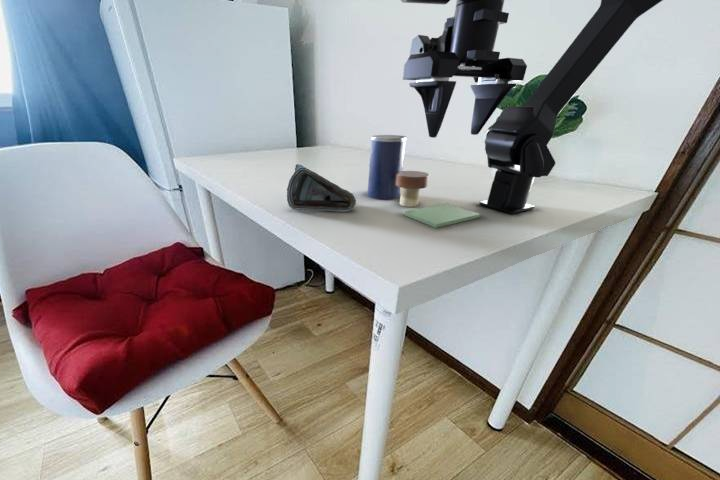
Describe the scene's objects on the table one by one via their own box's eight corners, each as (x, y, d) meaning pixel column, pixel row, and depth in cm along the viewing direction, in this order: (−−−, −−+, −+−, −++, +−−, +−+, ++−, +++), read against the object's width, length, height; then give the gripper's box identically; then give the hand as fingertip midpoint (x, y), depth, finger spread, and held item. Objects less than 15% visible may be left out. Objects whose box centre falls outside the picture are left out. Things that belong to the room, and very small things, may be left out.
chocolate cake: (359, 202, 59) (317, 154, 58) (360, 202, 52) (312, 147, 51) (322, 235, 60) (281, 190, 60) (319, 239, 54) (272, 188, 53)
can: (385, 189, 66) (391, 134, 61) (406, 196, 61) (414, 137, 56) (360, 193, 63) (364, 135, 58) (380, 201, 58) (386, 139, 53)
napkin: (445, 206, 55) (446, 203, 55) (479, 217, 50) (480, 214, 49) (403, 214, 51) (403, 211, 51) (435, 228, 46) (436, 224, 45)
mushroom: (409, 198, 60) (413, 169, 57) (430, 206, 55) (436, 175, 53) (386, 202, 57) (389, 172, 55) (407, 210, 53) (411, 178, 50)
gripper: (473, 25, 50) (453, 130, 57) (382, 11, 42) (373, 134, 49) (544, 9, 41) (510, 134, 49) (447, -12, 33) (424, 141, 41)
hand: (454, 135), depth 47 cm, fingers open, 9 cm apart
